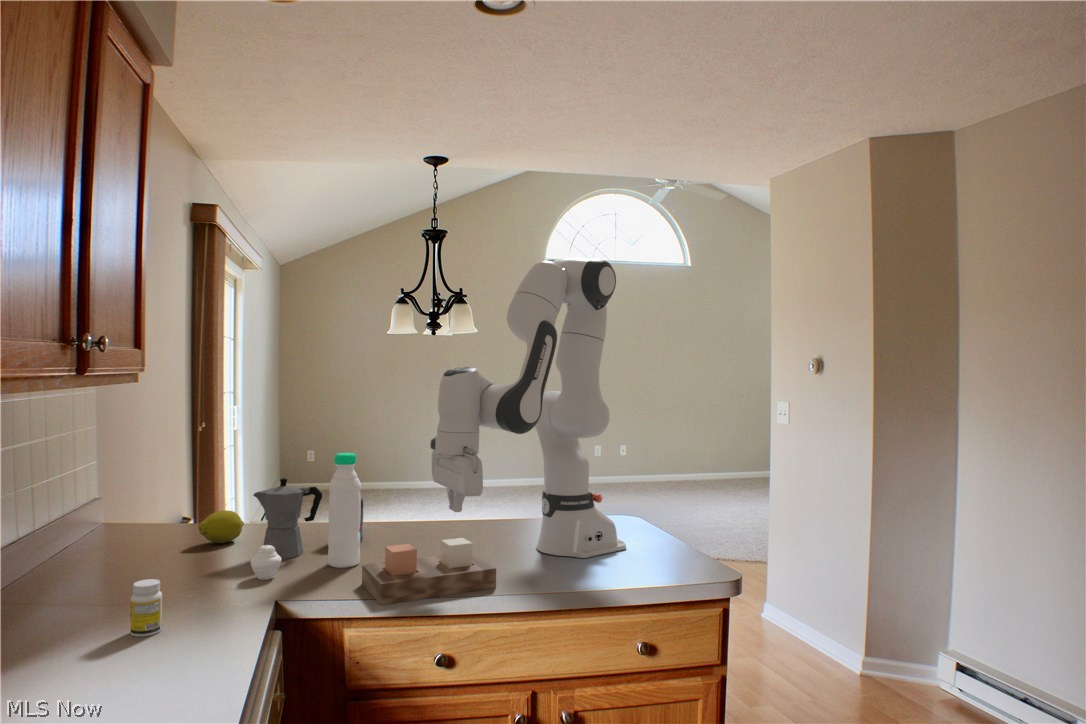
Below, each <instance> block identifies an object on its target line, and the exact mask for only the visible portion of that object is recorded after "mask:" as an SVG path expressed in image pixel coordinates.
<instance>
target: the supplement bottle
mask: <svg viewBox="0 0 1086 724" xmlns="http://www.w3.org/2000/svg"><path fill="white" fill-rule="evenodd" d="M160 590H161V581H160V579H157V578H156V579H155V578H152V579H151V578H150V579H141V580H138V581H134V583H133V586H132V593H133V594H132V596H130V634H131V636H133V637H137V638H139V637H140V638H141V637H143V638H144V637H150V636H154V635H157V634H159V633H160V632H161V631H162V629H163V592H162V591H160Z"/></svg>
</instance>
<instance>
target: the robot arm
mask: <svg viewBox="0 0 1086 724" xmlns="http://www.w3.org/2000/svg"><path fill="white" fill-rule="evenodd" d="M616 276H617V275H616V272H615V269H614V268H613V265H612V264H611V263H610V262H608V261H606V260H604V259H601V258H600V259H599V258H584V257H570V258H561V259H548V260H540V261H537V262H535V263H534V264H533V265H531V267H530V269H529V270H528V271H527V272H526V274H525V276H523V279H522V280H521V281H520V283H519V285H518V287H517V289H516V291H515V293H514V295H513V297H512V299H511V301H510V303H509V306H508V309H507V313H506V321H507V322H506V323H507V325H508V327H509V330H510V331H511V332H512V333H513V334H514V336H515V337H517V339H518V340H520V341H522V342H523V343H525V344H526V349H527V350H526V353H525V357H524V360H523V363H522V367H521V369H520V373H519V375H518V376H519V377H518V379H517V380H516V381H515V382H513V383H512V384H501V383H495V382H493V381H491V380H489V379H487V378H486V377H485V376H483V375H482V374H481V373H480V371H479V370H478V368H476V367H470V366H466V367H465V366H464V367H456V368H451V369H447V370H446V371H445V372H444V373H443V375H442V376H441V379H440V383H439V387H438V396H437V397H438V400H437V412H438V418H439V419H438V420H439V421H438V424H437V428H436V435H435V436H434V437H432V438H431V439H430V442H429V448H430V449H431V450H432V452H431V476H432V477H431V478H432V480H433V482H434V483H437V484H438V485H440V486H443V487H445V488H446V494H447V497H448V502H449V503H448V508H449V510H451V511H453V512H454V513H461V512H462V511H463V503H464V500H465V498H466V497H480V496H482V493H483V490H484V474H483V473H484V471H483V464H482V462H483V461H482V459H481V458H479V456H478V454H479V452H480V449H479V448H480V427H484V428H490V429H493V430H500V431H501V430H502V431H506V432H508V433H509V432H510V433H513V434H517V435H523V434H526V433H529V432H530V431H531V430H533V429H534V428H535V431H536V432H537V435H538V439H539V443H540V446H541V447H540V448H541V450H542V457H543V490H542V492H541V512H542V519H541V527H540V533H539V537H538V541H537V544H536V550H537V551H538V552H541V553H544V554H547V555H552V556H559V557H560V556H561V557H573V558H578V559H579V558H580V559H587V558H591V557H595V556H596V557H597V556H600V555H605V554H609V553H613V552H618V551H623V550H625V549H627V545H626V543H625V542H624V540H621V539H619V538H618V534H617V529H616V528H617V527H616V525H615V522H614V521H613V520H612V519H611V518H609V517H608V516H607V515H606V514H604V513H603V512H602V511H600V510H599V509H598V508H597V507H596V506H595V502H596V503H598V504H599V503H601V502H602V501H603V496H602V494H600V493H592V492H590V491H589V486H590V485H589V482H590V479H589V478H590V477H589V476H590V474H589V473H590V469H589V468H590V464H589V463H590V462H589V459H588V457H587V456H586V454H585V453H584V451H583V449H582V448H581V445H580V440H579V439H590V438H595V437H598V436H601V434H603V433H604V432H605V430H606V429H607V427H608V426H609V424H610V423H609V422H610V409H609V407H608V405H607V403H606V402H605V400H604V399H603V395H602V392H601V386H600V385H601V384H600V367H601V360H602V355H603V349H604V343H605V339H606V333H607V318H608V317H607V316H608V315H607V313H608V311H607V310H608V309H607V304H608V303H609V301H610V299H612V296H613V294H614V292H615V289H616V285H617V277H616ZM563 304H565V305H566V308H567V311H566V314H565V316H564V319H563V320H564V321H563V323H562V327H561V332H560V337H559V340H558V331H557V329H556V327H555V325H556V321H557V318H558V316H559V313H560V311H561V308H562V305H563ZM558 341H559V342H558ZM557 343H558V345H557ZM556 349H557V352H556ZM555 352H556V357H555V361H554V363H555V367H556V369H557V371H558V372H559V374H560V381H561V390H548V391H545V390H546V387H547V386H546V384H547V381H548V379H549V375H550V371H551V369H552V364H553V360H554V356H555Z"/></svg>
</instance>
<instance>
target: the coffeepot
mask: <svg viewBox="0 0 1086 724" xmlns="http://www.w3.org/2000/svg"><path fill="white" fill-rule="evenodd" d="M279 481H280V485H278V486H276V487H275V486H274V487H272V488H267V489H265V490H259V491H257V492H254V494H253V495H252V496H253V497H254V498H256V499H257V500H258V502H259V504H260V506H262V508H263V510H264V515H265V520H266V521H267V527H266V529H265V534H264V535H265V536H264V541H263V545H262V546H265V545H271V546H273V547H274V548H275V551H276V552H277V554H278V555H279V556H280V557H281V559H282V560H289V559H293V558H298V557H299V556H301V555H302V554H303V552H304V546H303V541H302V534H301V529H300V526H299V525H298V524H299V523H298V522H299V521H298V519H299V518H300V517H301V511H302V507H303V506H302V505H303V499H304V497H306V496H310V495H314V498H313V501H312V506H311V508H310V511H309V513H310V514H309V516H308V517H304V518H303V520H304V521H305V522H312V521H314V520H315V517H316V515H317V511H318V509H319V506H320V504H321V502H322V499H323V493H322V491H321V490H320V489H319V488H318V487H317V486H304V487H295V486H291V485H290V486H289V485H287V482H288V478H285V477H282V478H280V479H279Z"/></svg>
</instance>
